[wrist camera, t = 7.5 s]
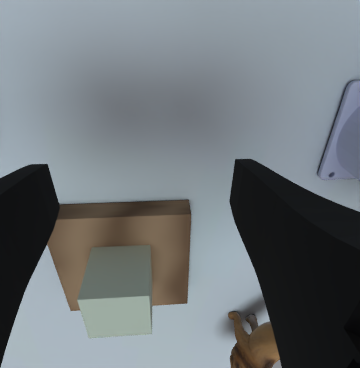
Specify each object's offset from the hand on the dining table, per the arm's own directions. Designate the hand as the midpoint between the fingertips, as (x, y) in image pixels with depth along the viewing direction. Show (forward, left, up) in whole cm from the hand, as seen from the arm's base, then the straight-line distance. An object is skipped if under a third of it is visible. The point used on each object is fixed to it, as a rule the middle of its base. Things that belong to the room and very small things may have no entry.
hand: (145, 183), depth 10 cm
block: (+3, +14, -8) cm, 16 cm away
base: (+3, +14, -10) cm, 17 cm away
